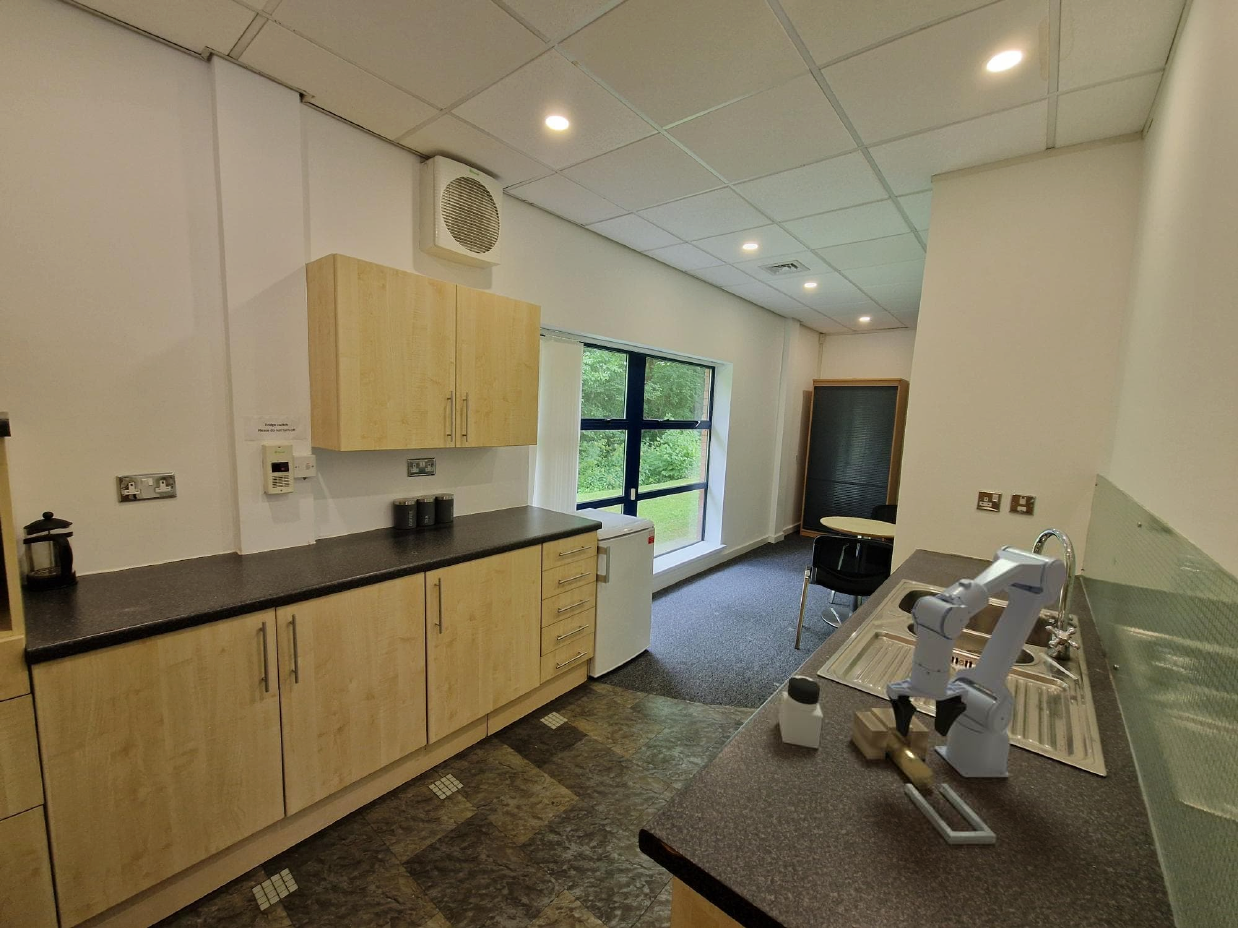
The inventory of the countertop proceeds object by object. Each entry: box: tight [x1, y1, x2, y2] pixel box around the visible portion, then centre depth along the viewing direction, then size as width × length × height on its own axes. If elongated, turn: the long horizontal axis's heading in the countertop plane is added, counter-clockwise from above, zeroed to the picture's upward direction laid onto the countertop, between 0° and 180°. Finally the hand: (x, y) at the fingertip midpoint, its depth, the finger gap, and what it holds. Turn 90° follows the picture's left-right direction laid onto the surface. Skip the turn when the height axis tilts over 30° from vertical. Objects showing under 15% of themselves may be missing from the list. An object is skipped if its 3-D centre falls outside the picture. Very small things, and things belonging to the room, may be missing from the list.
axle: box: [886, 732, 936, 790], centre depth 94 cm, size 10×4×4 cm, turn 5°
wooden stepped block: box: [850, 707, 930, 760], centre depth 100 cm, size 12×6×7 cm, turn 95°
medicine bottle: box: [778, 675, 824, 750], centre depth 102 cm, size 7×7×12 cm
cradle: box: [904, 783, 997, 845], centre depth 84 cm, size 8×11×1 cm
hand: (920, 732), depth 91 cm, fingers open, 7 cm apart
